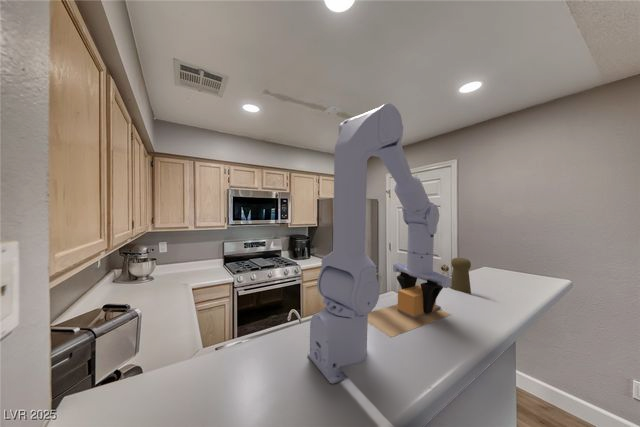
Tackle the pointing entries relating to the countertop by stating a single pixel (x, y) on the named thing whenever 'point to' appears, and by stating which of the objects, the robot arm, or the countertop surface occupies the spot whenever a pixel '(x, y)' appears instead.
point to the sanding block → (412, 302)
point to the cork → (461, 275)
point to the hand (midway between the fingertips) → (418, 308)
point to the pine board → (400, 320)
